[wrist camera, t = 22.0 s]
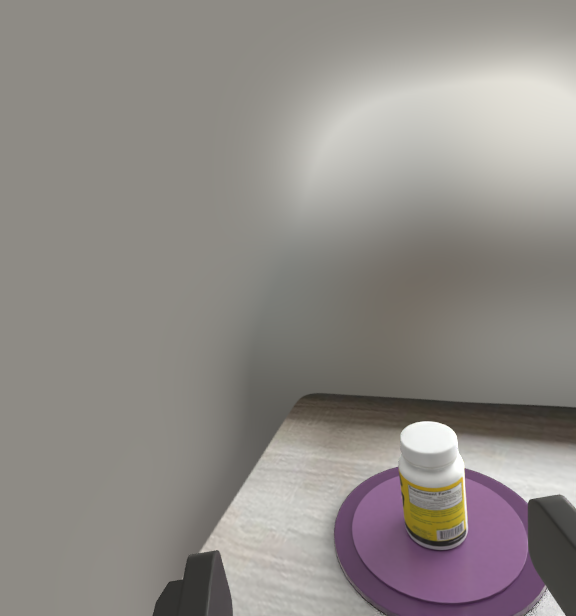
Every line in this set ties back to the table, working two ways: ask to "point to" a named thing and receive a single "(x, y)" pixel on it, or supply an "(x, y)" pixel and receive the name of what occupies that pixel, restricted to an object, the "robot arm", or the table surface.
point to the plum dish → (438, 553)
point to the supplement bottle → (433, 486)
